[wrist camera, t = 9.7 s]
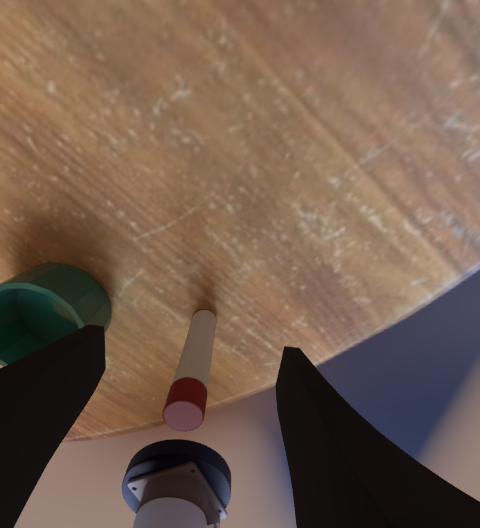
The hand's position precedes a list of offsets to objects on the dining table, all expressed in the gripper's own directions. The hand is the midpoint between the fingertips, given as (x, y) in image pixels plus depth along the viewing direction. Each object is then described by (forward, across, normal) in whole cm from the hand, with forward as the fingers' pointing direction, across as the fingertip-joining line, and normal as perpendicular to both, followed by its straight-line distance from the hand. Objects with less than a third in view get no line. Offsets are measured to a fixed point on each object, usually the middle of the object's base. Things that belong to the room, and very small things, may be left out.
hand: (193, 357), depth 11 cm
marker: (+9, 0, +4) cm, 10 cm away
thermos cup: (+9, +10, +4) cm, 14 cm away
